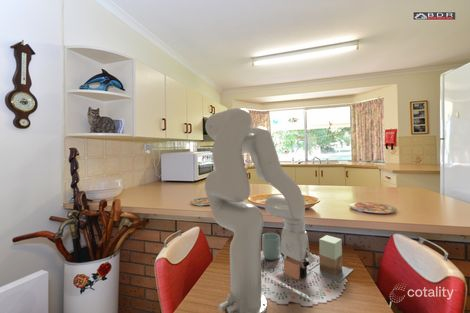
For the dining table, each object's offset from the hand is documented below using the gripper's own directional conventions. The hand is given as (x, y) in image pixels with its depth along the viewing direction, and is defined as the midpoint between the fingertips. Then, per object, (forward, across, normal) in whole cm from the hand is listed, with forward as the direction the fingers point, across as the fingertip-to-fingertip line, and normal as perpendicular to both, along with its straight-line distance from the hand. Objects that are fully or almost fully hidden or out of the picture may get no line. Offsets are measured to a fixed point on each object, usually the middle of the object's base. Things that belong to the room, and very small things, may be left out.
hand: (295, 273), depth 84 cm
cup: (+1, -15, +4) cm, 16 cm away
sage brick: (-6, +8, +12) cm, 16 cm away
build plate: (+1, +8, +12) cm, 15 cm away
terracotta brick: (+1, 0, 0) cm, 1 cm away
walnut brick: (0, +8, +12) cm, 15 cm away
